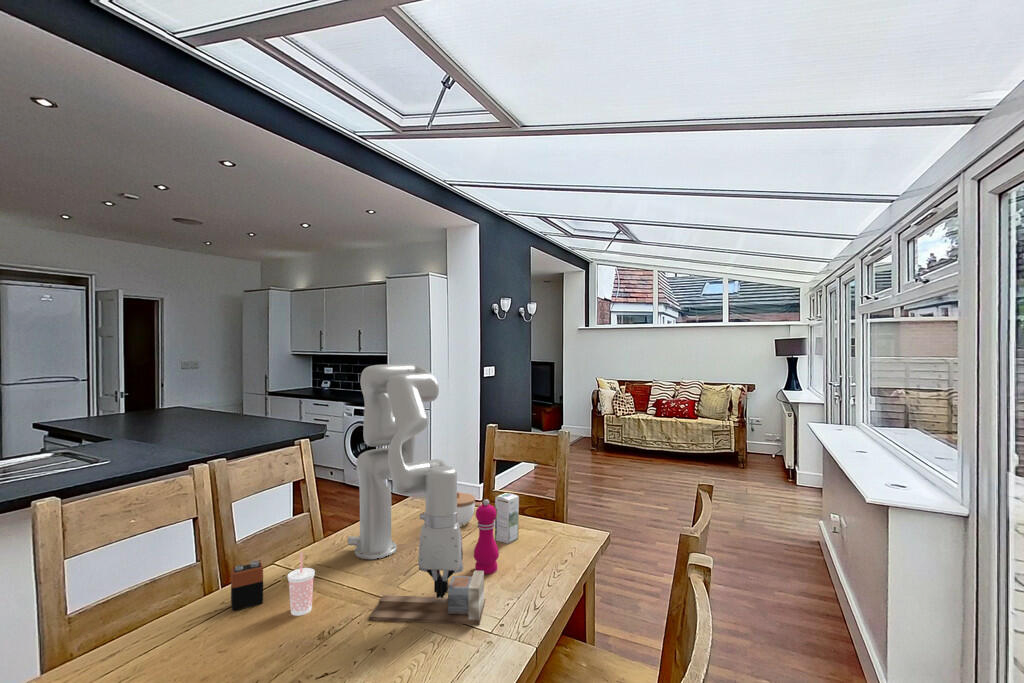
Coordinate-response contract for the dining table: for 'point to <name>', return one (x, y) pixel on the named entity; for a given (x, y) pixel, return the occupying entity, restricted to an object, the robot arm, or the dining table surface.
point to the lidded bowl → (465, 507)
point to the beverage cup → (301, 589)
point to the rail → (431, 607)
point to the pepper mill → (486, 539)
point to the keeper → (459, 595)
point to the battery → (246, 585)
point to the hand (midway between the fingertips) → (441, 594)
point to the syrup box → (506, 517)
